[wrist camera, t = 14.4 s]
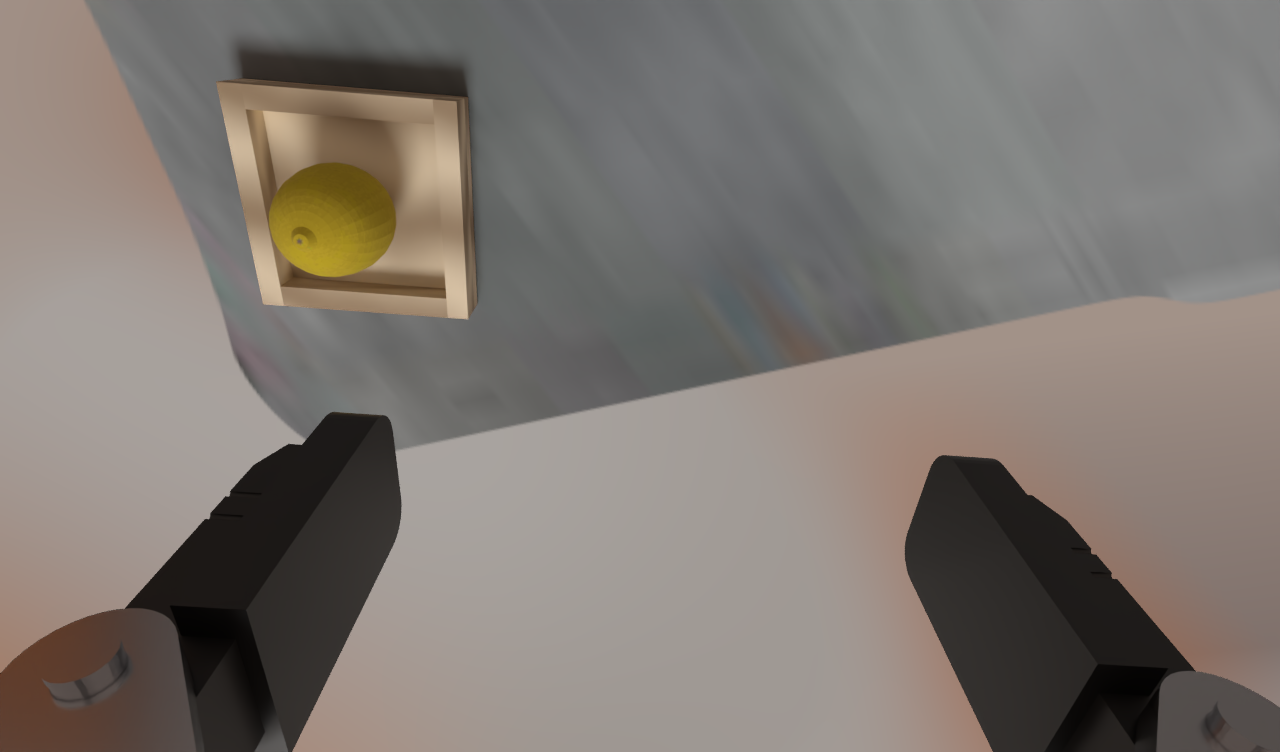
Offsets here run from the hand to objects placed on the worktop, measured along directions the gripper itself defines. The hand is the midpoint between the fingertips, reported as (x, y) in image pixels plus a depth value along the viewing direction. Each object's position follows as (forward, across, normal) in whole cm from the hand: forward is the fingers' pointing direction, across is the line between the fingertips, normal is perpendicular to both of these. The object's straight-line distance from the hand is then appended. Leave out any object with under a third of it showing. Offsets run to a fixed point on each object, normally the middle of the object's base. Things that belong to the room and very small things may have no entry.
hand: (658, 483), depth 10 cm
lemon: (+30, +16, +4) cm, 34 cm away
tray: (+30, +16, +4) cm, 34 cm away
